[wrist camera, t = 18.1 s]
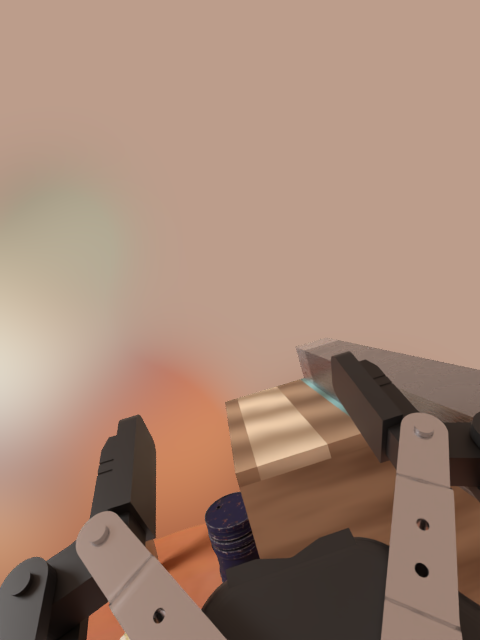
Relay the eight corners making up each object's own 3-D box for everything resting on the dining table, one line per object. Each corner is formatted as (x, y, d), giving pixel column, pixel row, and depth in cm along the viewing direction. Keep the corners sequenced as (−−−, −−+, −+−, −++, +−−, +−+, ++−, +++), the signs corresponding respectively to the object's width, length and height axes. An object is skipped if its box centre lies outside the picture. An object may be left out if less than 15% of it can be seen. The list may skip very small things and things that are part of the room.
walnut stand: (579, 888, 25) (455, 403, 23) (380, 978, 24) (235, 473, 22) (426, 648, 43) (349, 364, 41) (308, 692, 42) (225, 402, 40)
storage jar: (290, 571, 61) (268, 493, 60) (266, 621, 52) (240, 532, 52) (244, 561, 66) (224, 489, 65) (216, 606, 58) (192, 524, 57)
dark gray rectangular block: (593, 485, 13) (570, 388, 13) (502, 517, 13) (477, 419, 13) (334, 368, 41) (326, 337, 41) (304, 378, 41) (295, 346, 41)
